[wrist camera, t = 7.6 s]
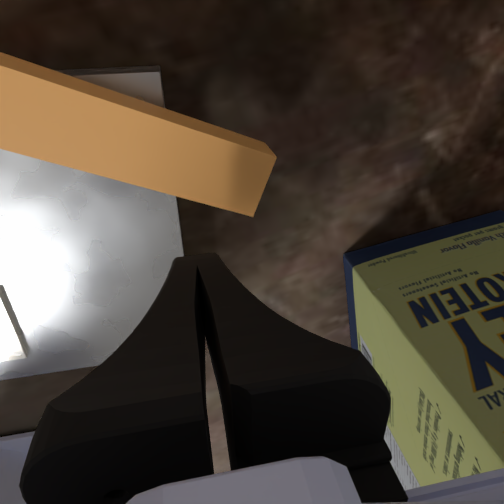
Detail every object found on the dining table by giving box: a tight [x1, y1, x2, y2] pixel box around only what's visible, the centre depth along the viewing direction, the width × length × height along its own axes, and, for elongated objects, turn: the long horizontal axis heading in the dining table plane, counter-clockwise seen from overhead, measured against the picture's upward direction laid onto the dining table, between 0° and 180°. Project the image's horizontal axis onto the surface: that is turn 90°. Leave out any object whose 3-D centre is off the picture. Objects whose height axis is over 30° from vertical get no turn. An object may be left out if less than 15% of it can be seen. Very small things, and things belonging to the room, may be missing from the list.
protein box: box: [343, 210, 504, 490], centre depth 21 cm, size 10×16×16 cm
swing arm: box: [0, 52, 277, 217], centre depth 13 cm, size 16×4×2 cm, turn 69°
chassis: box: [0, 65, 185, 381], centre depth 18 cm, size 14×11×3 cm
